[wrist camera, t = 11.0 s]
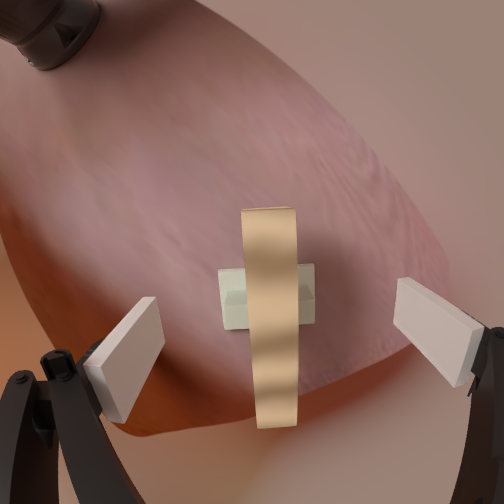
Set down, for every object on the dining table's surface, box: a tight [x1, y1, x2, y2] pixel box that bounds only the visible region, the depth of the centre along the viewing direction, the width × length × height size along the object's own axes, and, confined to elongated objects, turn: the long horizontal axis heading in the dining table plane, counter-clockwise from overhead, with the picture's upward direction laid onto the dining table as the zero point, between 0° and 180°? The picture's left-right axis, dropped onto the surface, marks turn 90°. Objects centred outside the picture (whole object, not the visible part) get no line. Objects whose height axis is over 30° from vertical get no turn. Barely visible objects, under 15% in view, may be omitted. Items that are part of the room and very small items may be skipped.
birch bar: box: [241, 207, 298, 429], centre depth 28 cm, size 24×4×6 cm, turn 4°
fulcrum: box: [218, 263, 315, 330], centre depth 34 cm, size 8×12×6 cm, turn 94°
